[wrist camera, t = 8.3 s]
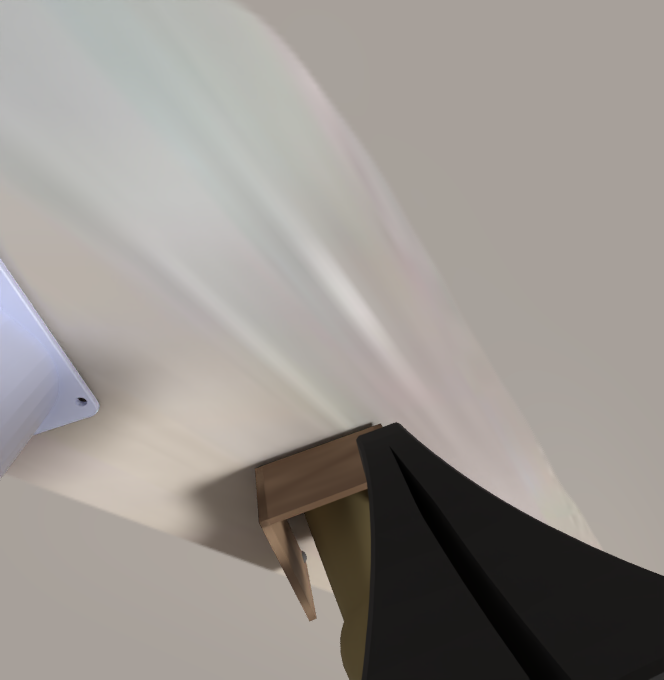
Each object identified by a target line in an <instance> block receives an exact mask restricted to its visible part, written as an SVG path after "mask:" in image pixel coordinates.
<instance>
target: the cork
mask: <svg viewBox="0 0 664 680" xmlns="http://www.w3.org/2000/svg"><path fill="white" fill-rule="evenodd" d="M304 515H305V518H306V520H307V523H308V526H309V528H310V531H311V534H312V536H313V539H314V542H315V544H316V547H317V550H318V552H319V555H320V558H321V560H322V563H323V566H324V569H325V571H326V574H327V577H328V579H329V582H330V585H331V587H332V590H333V593H334V595H335V598H336V601H337V603H338V606H339V609H340V611H341V614H342V617H343V619H344V624H343V627H342V631H341V637H340V642H341V643H340V644H341V657H342V661H343V666H344V668H345V671H346V673H347V675H348V677H349V680H361V679H362V671H363V663H364V653H365V642H366V632H367V621H368V609H369V592H370V568H371V530H370V511H369V496H368V489H365V490H362V491H360V492H357V493H354V494H352V495H349V496H346V497H344V498H341V499H339V500H336V501H333V502H331V503H328V504H325V505H323V506H320V507H317V508H315V509H312V510H309V511H307V512H304Z"/></svg>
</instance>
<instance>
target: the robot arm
mask: <svg viewBox="0 0 664 680" xmlns="http://www.w3.org/2000/svg"><path fill="white" fill-rule="evenodd" d="M78 398H84V399H86V400H87V402H82V401H80V400H79V399H78ZM99 407H100V405H99V402H98V401H97V399H96V398H95V396H94V395H93V394H92V392H91V391H90V389H89V388H88V386H87V385H86V383H85V382H84V380H83V379H82V377H81V376H80V374H79V373H78V372H77V370H76V369H75V367H74V366H73V364H72V363H71V361H70V360H69V358H68V357H67V355H66V354H65V352H64V351H63V350H62V348H61V347H60V345H59V344H58V342H57V341H56V339H55V338H54V336H53V335H52V333H51V332H50V330H49V329H48V328H47V326H46V325H45V323H44V322H43V320H42V319H41V317H40V316H39V314H38V313H37V311H36V310H35V308H34V307H33V306H32V304H31V303H30V301H29V300H28V298H27V297H26V295H25V294H24V292H23V291H22V289H21V288H20V286H19V285H18V284H17V282H16V281H15V279H14V278H13V276H12V275H11V273H10V272H9V270H8V269H7V267H6V266H5V264H4V263H3V262H2V260H1V259H0V479H1V478H2V477H3V475H4V474H5V473H6V471H7V470H8V468H9V467H10V466H11V464H12V463H13V462H14V460H15V459H16V458H17V456H18V455H19V453H20V452H21V451H22V449H23V448H24V447H25V445H26V444H27V443H28V441H29V440H30V438H31V437H32V436H33V435H36V434H39V433H42V432H45V431H48V430H51V429H54V428H57V427H60V426H63V425H67V424H70V423H73V422H76V421H79V420H82V419H85V418H88V417H91V416H93V415H95V414H96V413H97V412H98V410H99ZM356 442H357V446H358V450H359V454H360V458H361V461H362V465H363V469H364V473H365V477H366V481H367V488H368V496H369V511H370V530H371V568H370V592H369V609H368V621H367V632H366V642H365V653H364V663H363V671H362V679H361V680H664V576H662V575H659V574H657V573H654V572H652V571H649V570H647V569H644V568H641V567H639V566H637V565H634V564H632V563H629V562H627V561H624V560H622V559H619V558H617V557H615V556H613V555H610V554H608V553H606V552H604V551H601V550H599V549H597V548H594V547H592V546H590V545H588V544H586V543H584V542H582V541H580V540H577V539H575V538H573V537H571V536H569V535H567V534H565V533H563V532H561V531H559V530H557V529H555V528H553V527H551V526H548V525H546V524H544V523H542V522H541V521H539V520H537V519H535V518H533V517H531V516H529V515H528V514H526V513H524V512H522V511H520V510H518V509H517V508H515V507H513V506H512V505H510V504H508V503H506V502H505V501H503V500H501V499H500V498H498V497H496V496H495V495H493V494H492V493H490V492H488V491H487V490H485V489H484V488H482V487H481V486H479V485H478V484H476V483H475V482H473V481H472V480H470V479H469V478H467V477H466V476H464V475H463V474H461V473H460V472H459V471H457V470H456V469H454V468H453V467H452V466H450V465H449V464H448V463H446V462H445V461H444V460H442V459H441V458H440V457H438V456H437V455H436V454H434V453H433V452H432V451H431V450H429V449H428V448H427V447H426V446H425V445H423V444H422V443H421V442H420V441H418V440H417V439H416V438H415V437H414V436H413V435H412V434H410V433H409V432H408V431H407V430H406V429H405V428H404V427H403V426H402V425H401V424H399V423H397V422H396V423H393V424H390V425H387V426H385V427H382V428H379V429H376V430H373V431H371V432H368V433H365V434H362V435H359V436H358V438H357V439H356Z"/></svg>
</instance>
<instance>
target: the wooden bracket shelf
mask: <svg viewBox="0 0 664 680" xmlns="http://www.w3.org/2000/svg"><path fill="white" fill-rule="evenodd" d="M379 428H382V425H381V424H378V425H375V426H372V427H370V428H367V429H364V430H361V431H358V432H356V433H353V434H350V435H347V436H344V437H342V438H339V439H336V440H333V441H330V442H328V443H325V444H322V445H319V446H316V447H314V448H311V449H308V450H305V451H302V452H300V453H297V454H294V455H291V456H288V457H286V458H283V459H280V460H277V461H274V462H272V463H269V464H266V465H263V466H260V467H258V468H255V476H256V489H257V502H258V516H259V524H260V526H261V528H262V529H263V531H264V533H265V535H266V537H267V539H268V541H269V543H270V545H271V547H272V549H273V551H274V553H275V555H276V557H277V559H278V561H279V563H280V565H281V566H282V568H283V570H284V572H285V574H286V576H287V578H288V580H289V582H290V584H291V586H292V588H293V590H294V592H295V594H296V595H297V598H298V600H299V601H300V603H301V605H302V607H303V609H304V611H305V613H306V615H307V617H308V619H309V621H312V620H314V619H316V613H315V607H314V602H313V596H312V591H311V586H310V580H309V575H308V570H307V564H306V559H307V556H306V554H305V552H303V551H301V550H300V548H299V545H298V543H297V541H296V539H295V537H294V534H293V532H292V530H291V528H290V526H289V523H288V521H287V519H288V518H291V517H293V516H296V515H299V514H301V513H304V512H307V511H309V510H312V509H315V508H317V507H320V506H323V505H325V504H328V503H331V502H333V501H336V500H339V499H341V498H344V497H346V496H349V495H352V494H354V493H357V492H360V491H362V490H365V489H368V488H367V481H366V477H365V473H364V469H363V465H362V461H361V458H360V454H359V450H358V446H357V442H356V439H357V438H358V436H359V435H362V434H365V433H368V432H371V431H373V430H376V429H379Z"/></svg>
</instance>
